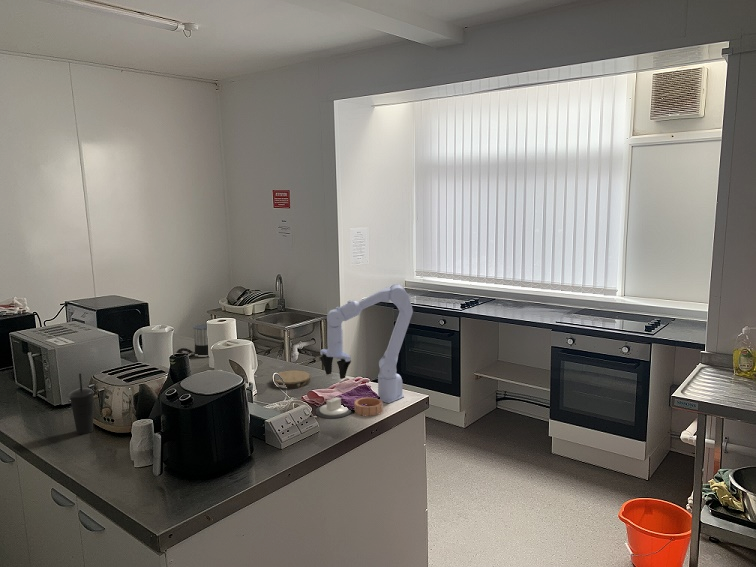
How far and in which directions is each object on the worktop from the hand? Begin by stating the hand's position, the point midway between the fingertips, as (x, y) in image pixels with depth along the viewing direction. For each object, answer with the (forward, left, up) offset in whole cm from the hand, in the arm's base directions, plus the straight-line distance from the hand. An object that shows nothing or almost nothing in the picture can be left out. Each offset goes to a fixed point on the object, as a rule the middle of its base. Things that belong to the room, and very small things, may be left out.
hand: (335, 376), depth 220 cm
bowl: (0, +17, -9) cm, 19 cm away
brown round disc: (-2, -29, -10) cm, 31 cm away
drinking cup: (+76, -42, -10) cm, 87 cm away
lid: (+9, +8, -9) cm, 15 cm away
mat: (+9, +8, -9) cm, 15 cm away
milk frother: (+3, -95, -10) cm, 95 cm away
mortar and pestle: (+26, -26, -10) cm, 38 cm away
